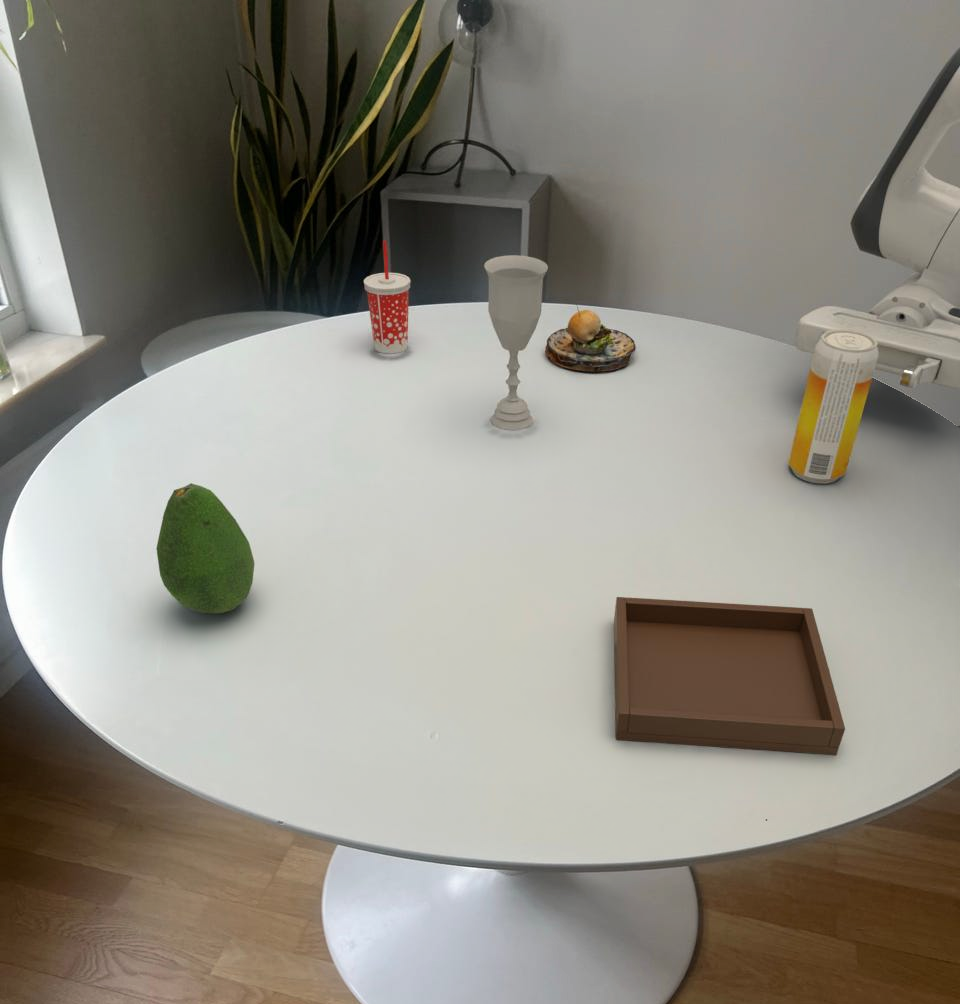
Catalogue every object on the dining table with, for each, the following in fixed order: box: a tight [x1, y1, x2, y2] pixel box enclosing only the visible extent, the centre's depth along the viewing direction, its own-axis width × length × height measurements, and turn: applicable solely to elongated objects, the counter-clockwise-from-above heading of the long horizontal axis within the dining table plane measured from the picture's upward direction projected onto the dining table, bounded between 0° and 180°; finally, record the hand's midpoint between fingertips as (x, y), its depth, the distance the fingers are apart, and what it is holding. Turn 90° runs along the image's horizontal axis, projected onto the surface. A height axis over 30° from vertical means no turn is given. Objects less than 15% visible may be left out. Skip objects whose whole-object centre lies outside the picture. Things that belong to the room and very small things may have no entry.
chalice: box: [483, 254, 549, 431], centre depth 109 cm, size 7×7×18 cm
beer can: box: [788, 329, 879, 484], centre depth 101 cm, size 6×6×15 cm
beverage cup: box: [363, 239, 412, 355], centre depth 127 cm, size 6×6×14 cm
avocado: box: [156, 482, 255, 615], centre depth 83 cm, size 8×8×12 cm
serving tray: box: [613, 596, 846, 756], centre depth 78 cm, size 17×15×3 cm
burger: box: [545, 303, 637, 372], centre depth 127 cm, size 12×12×8 cm
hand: (864, 369), depth 106 cm, fingers open, 8 cm apart
